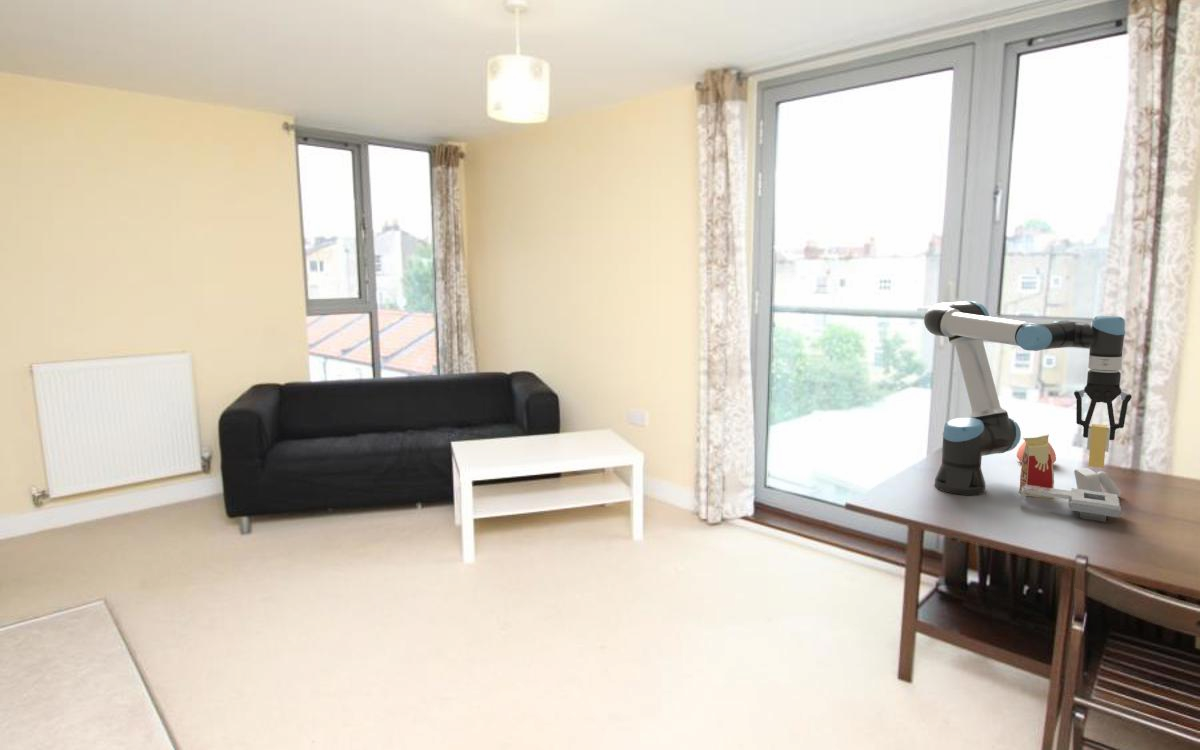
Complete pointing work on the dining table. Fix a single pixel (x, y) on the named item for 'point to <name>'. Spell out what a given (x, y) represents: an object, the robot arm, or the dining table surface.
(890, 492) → the dining table surface
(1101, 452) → the yellow rectangular block
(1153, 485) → the dining table surface
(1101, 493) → the grey slotted fixture
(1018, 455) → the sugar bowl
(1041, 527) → the dining table surface
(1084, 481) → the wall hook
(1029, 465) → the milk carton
